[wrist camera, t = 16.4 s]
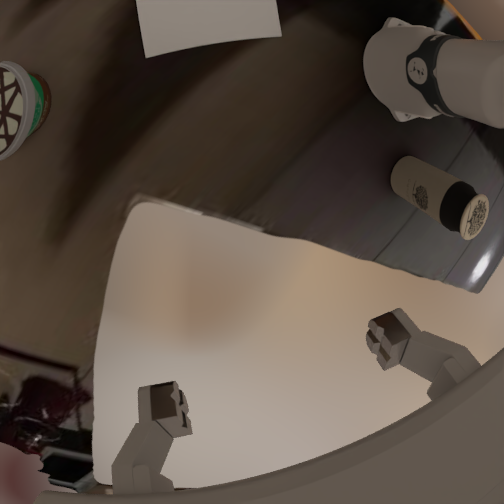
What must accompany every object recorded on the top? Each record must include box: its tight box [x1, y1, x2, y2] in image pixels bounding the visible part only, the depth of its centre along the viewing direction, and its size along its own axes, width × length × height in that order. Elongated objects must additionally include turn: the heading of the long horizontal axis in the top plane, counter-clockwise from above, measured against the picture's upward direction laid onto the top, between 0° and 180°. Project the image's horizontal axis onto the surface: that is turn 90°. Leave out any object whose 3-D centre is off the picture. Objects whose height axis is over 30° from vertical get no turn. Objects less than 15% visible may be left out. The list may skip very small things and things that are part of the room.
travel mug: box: [391, 156, 489, 240], centre depth 42 cm, size 8×8×18 cm
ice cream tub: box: [0, 61, 51, 161], centre depth 25 cm, size 12×6×10 cm, turn 160°
